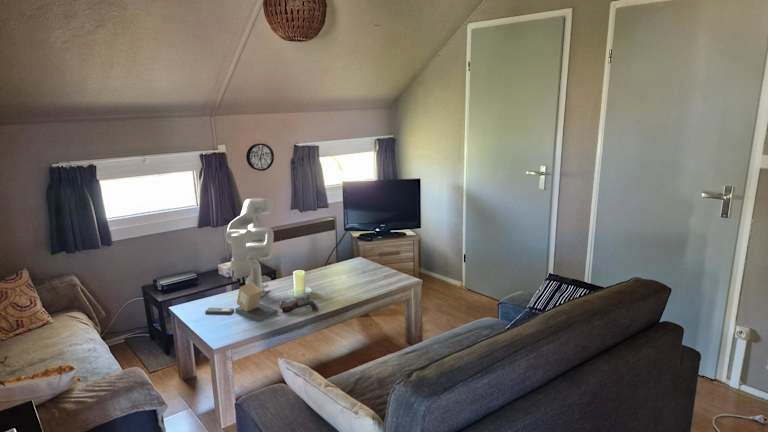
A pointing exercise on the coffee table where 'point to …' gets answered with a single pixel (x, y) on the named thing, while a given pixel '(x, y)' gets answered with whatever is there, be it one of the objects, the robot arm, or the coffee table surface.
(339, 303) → the coffee table surface
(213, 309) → the remote
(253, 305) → the carton
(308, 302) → the toy gun
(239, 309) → the podium
